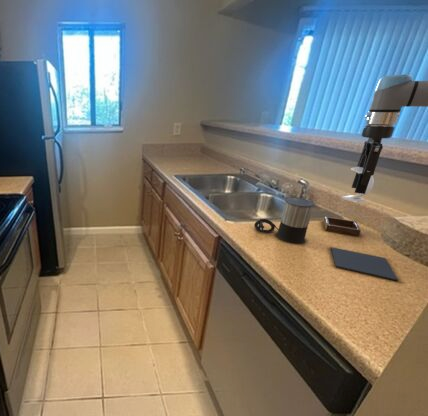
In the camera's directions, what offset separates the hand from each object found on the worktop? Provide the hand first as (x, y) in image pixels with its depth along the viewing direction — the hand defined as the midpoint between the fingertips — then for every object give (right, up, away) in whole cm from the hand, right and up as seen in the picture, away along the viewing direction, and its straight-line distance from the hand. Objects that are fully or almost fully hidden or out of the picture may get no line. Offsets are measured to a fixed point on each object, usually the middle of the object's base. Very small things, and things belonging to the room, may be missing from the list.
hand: (357, 190), depth 101 cm
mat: (-11, -24, -13) cm, 30 cm away
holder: (+3, -15, +11) cm, 19 cm away
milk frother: (-25, -17, +7) cm, 31 cm away
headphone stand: (0, -4, +2) cm, 4 cm away
